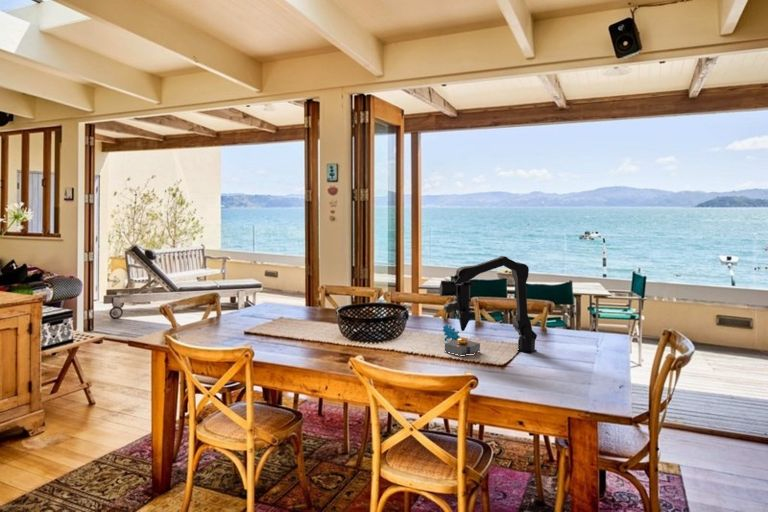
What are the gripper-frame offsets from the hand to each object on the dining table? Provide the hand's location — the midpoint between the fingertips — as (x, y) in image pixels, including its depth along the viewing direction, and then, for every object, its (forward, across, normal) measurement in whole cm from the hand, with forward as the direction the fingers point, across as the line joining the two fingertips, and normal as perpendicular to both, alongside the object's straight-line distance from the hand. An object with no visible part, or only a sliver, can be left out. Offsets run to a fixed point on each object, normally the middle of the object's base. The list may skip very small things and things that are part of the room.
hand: (462, 330), depth 217 cm
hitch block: (+10, 0, 0) cm, 10 cm away
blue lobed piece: (+10, -20, -1) cm, 22 cm away
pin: (+9, 0, 0) cm, 9 cm away
